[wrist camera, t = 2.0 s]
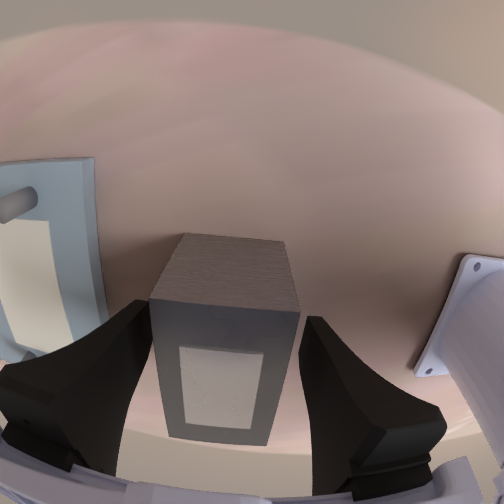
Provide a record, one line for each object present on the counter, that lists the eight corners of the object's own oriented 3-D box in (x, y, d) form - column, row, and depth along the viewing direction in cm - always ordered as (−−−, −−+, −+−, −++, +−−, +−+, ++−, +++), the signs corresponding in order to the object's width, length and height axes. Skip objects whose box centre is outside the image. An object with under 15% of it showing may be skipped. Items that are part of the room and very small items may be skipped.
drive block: (283, 240, 12) (301, 313, 8) (263, 365, 15) (266, 447, 11) (185, 232, 12) (147, 299, 8) (186, 358, 15) (168, 438, 10)
